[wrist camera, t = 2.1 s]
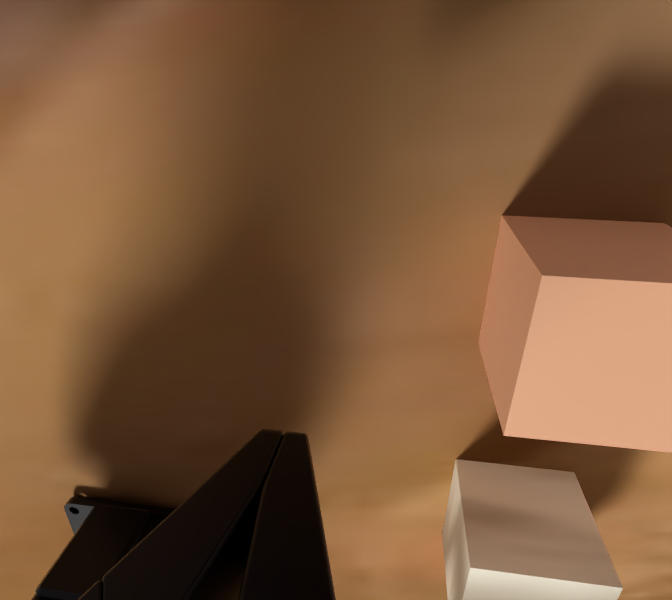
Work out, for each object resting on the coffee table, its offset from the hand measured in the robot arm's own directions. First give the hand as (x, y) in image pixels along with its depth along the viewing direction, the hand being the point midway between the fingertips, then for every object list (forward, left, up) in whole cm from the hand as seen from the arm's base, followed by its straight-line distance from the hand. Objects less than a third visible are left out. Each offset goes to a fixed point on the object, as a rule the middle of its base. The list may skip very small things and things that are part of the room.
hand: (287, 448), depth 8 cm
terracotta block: (0, -7, -8) cm, 11 cm away
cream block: (-10, -7, -8) cm, 14 cm away
